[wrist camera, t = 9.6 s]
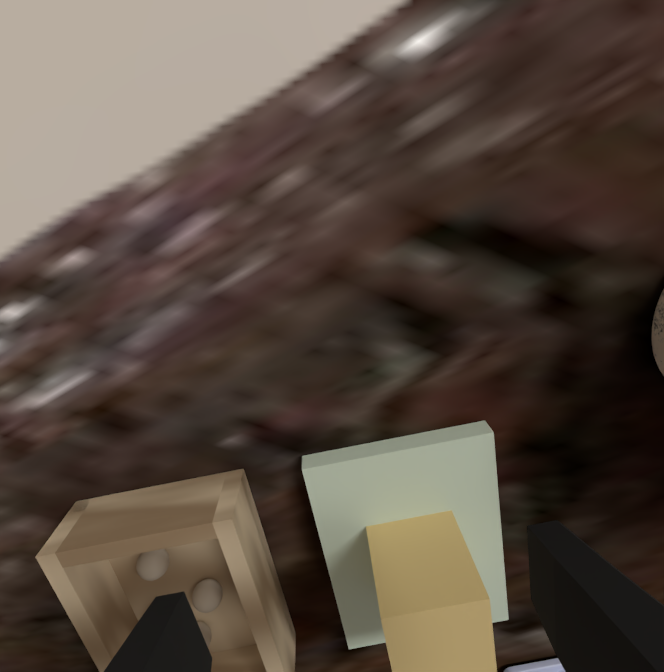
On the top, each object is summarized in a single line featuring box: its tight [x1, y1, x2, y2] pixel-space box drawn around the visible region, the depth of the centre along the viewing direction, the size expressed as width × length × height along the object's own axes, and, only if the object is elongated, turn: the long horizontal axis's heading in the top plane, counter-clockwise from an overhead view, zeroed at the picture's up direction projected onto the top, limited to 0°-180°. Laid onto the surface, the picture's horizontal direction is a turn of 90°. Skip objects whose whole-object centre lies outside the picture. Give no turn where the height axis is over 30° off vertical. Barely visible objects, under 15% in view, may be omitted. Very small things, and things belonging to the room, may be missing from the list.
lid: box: [302, 420, 509, 672], centre depth 19 cm, size 11×8×6 cm
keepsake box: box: [36, 469, 296, 672], centre depth 21 cm, size 11×8×3 cm
